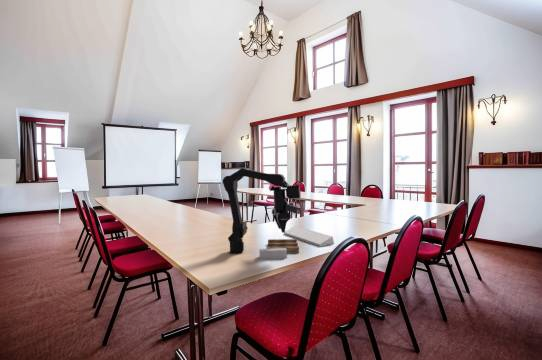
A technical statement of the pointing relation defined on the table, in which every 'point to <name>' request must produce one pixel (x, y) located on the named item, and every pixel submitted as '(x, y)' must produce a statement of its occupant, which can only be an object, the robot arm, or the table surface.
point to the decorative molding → (310, 236)
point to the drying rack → (284, 244)
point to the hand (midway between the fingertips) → (281, 230)
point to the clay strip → (273, 253)
